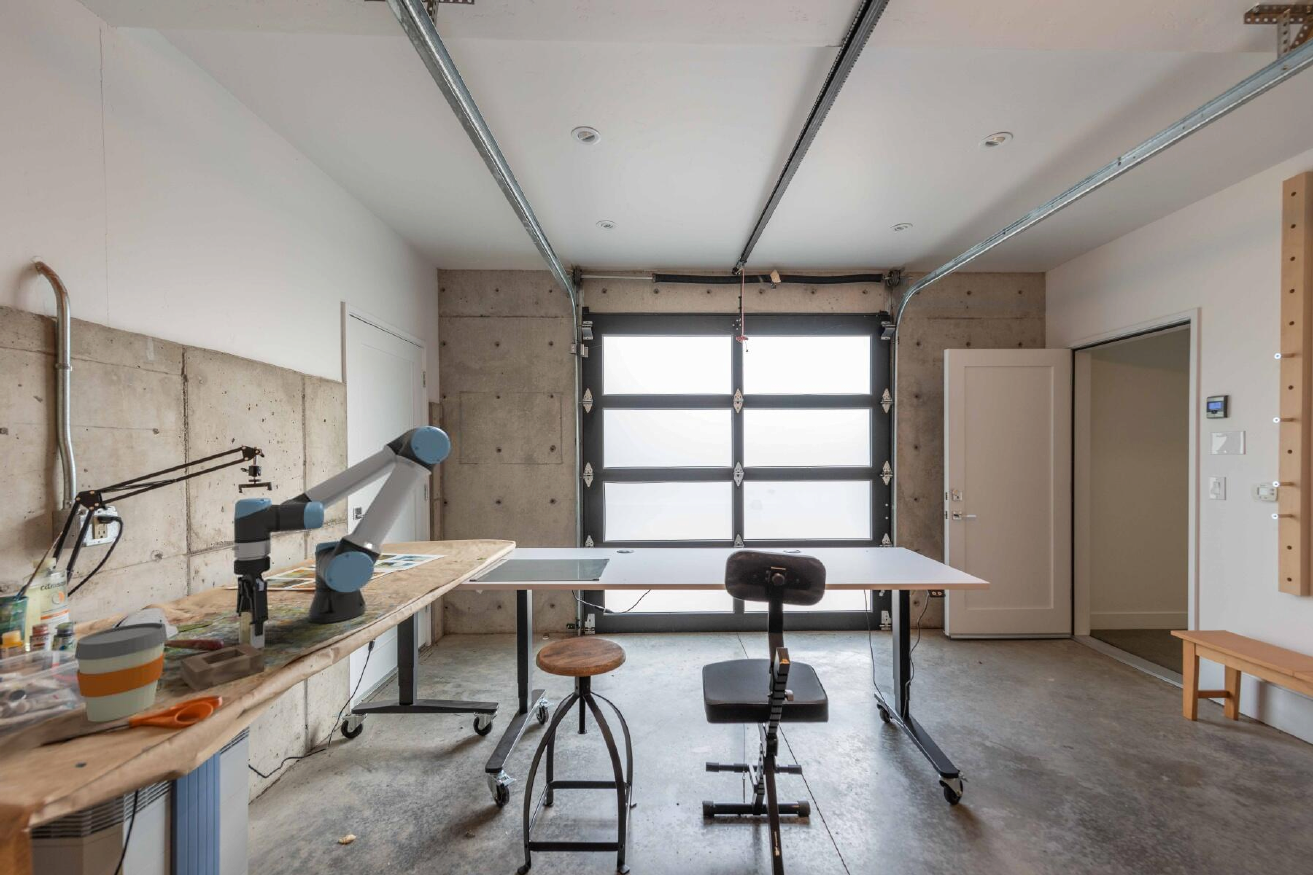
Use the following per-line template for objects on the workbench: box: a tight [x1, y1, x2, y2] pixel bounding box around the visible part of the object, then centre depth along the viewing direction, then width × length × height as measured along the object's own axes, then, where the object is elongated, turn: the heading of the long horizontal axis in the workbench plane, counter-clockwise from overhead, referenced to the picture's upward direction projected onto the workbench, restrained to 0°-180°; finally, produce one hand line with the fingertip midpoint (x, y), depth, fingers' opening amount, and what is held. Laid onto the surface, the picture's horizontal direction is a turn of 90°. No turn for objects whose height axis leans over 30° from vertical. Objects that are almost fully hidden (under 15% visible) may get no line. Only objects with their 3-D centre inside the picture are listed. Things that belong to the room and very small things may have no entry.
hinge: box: [109, 607, 179, 639], centre depth 135 cm, size 17×5×10 cm, turn 18°
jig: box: [179, 643, 266, 692], centre depth 115 cm, size 12×12×4 cm
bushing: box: [240, 609, 252, 645], centre depth 133 cm, size 4×4×9 cm
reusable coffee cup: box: [74, 623, 168, 723], centre depth 100 cm, size 13×12×15 cm
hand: (251, 644), depth 133 cm, fingers open, 8 cm apart
